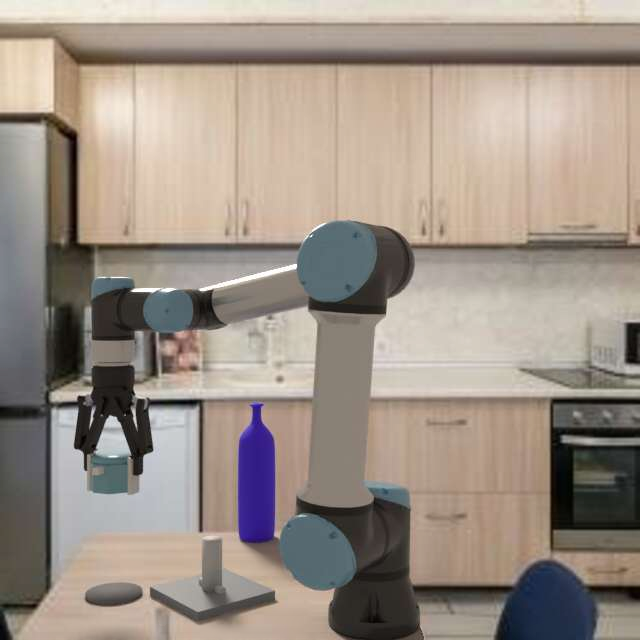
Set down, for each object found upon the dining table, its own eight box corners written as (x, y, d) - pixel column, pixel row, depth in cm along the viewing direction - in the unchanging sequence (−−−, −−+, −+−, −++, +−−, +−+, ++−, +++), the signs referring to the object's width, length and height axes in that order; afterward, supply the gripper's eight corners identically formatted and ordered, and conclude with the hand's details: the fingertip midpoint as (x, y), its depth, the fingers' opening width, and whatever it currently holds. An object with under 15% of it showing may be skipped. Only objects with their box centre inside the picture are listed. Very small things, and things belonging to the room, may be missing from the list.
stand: (275, 598, 150) (275, 540, 150) (197, 621, 140) (197, 557, 139) (224, 576, 162) (224, 521, 162) (149, 594, 152) (149, 536, 151)
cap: (114, 497, 145) (114, 462, 145) (76, 493, 147) (76, 459, 147) (148, 484, 155) (148, 451, 155) (112, 480, 158) (112, 448, 157)
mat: (152, 596, 151) (152, 593, 151) (100, 609, 145) (100, 606, 145) (126, 581, 159) (126, 578, 159) (75, 593, 152) (75, 590, 152)
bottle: (269, 544, 183) (270, 406, 182) (233, 541, 185) (233, 405, 184) (279, 533, 191) (279, 401, 190) (244, 531, 193) (244, 400, 192)
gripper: (174, 364, 151) (174, 491, 151) (77, 360, 157) (77, 482, 158) (152, 367, 143) (152, 501, 144) (51, 363, 150) (52, 491, 151)
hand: (113, 491), depth 151 cm, fingers closed on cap, 8 cm apart
